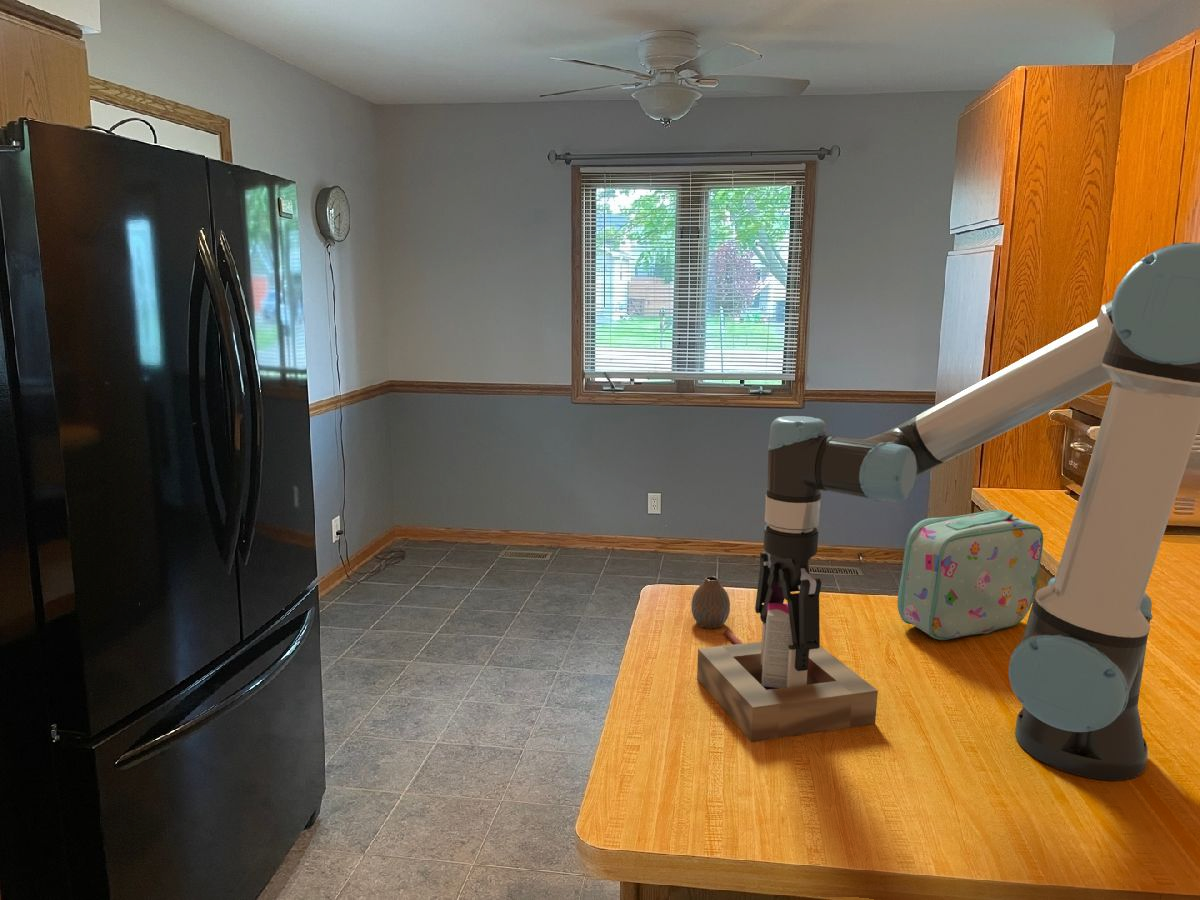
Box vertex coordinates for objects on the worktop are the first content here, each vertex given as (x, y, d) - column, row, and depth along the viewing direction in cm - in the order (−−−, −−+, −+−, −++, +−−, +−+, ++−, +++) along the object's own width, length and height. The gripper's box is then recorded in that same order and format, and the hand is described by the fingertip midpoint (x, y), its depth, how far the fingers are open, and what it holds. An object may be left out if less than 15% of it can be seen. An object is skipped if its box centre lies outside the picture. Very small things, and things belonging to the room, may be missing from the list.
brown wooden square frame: (875, 723, 116) (877, 690, 115) (751, 741, 111) (752, 707, 110) (806, 665, 134) (808, 636, 133) (696, 678, 129) (698, 648, 128)
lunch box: (992, 605, 161) (1004, 498, 157) (1040, 624, 152) (1053, 511, 148) (888, 627, 149) (898, 512, 145) (933, 649, 140) (945, 527, 136)
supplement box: (803, 694, 118) (808, 619, 116) (761, 690, 119) (765, 615, 117) (802, 676, 124) (806, 604, 122) (761, 672, 125) (765, 600, 123)
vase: (686, 628, 148) (687, 581, 146) (696, 614, 154) (698, 569, 153) (723, 634, 145) (726, 587, 144) (733, 620, 152) (735, 575, 150)
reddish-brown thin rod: (759, 663, 134) (760, 657, 134) (754, 664, 134) (754, 658, 134) (727, 633, 146) (728, 627, 146) (722, 633, 146) (722, 628, 146)
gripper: (855, 545, 109) (843, 706, 113) (781, 506, 128) (773, 645, 132) (803, 549, 107) (793, 712, 111) (736, 509, 126) (730, 650, 130)
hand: (782, 675), depth 121 cm, fingers closed on supplement box, 7 cm apart
